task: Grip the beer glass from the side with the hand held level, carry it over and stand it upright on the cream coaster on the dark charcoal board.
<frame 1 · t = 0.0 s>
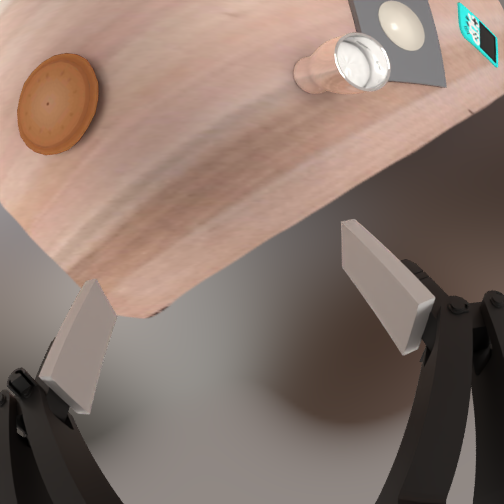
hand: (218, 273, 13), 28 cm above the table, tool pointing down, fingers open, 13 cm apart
pie: (64, 103, 29), on the table
beer glass: (312, 75, 33), on the table
serving board: (397, 26, 28), on the table
handheld game console: (477, 35, 27), on the table
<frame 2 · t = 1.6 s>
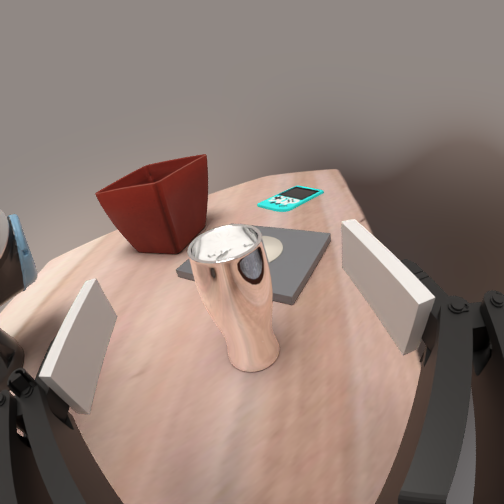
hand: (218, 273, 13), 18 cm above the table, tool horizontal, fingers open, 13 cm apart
beer glass: (254, 352, 31), on the table
plant pot: (171, 240, 62), on the table
serving board: (255, 258, 48), on the table
handheld game console: (291, 201, 71), on the table
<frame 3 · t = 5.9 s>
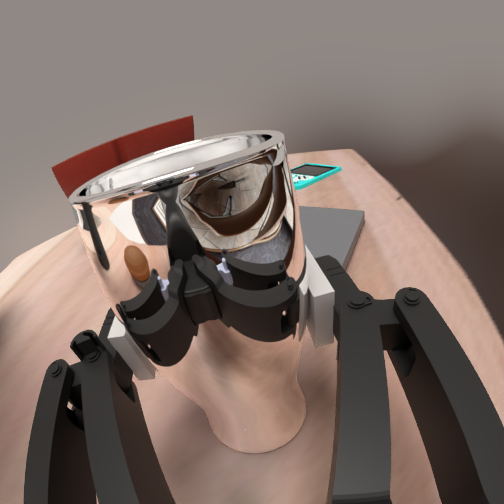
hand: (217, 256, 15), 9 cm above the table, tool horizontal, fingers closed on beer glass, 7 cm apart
beer glass: (257, 412, 15), on the table, touching gripper
plant pot: (147, 227, 46), on the table
serving board: (258, 246, 33), on the table
handheld game console: (302, 179, 55), on the table
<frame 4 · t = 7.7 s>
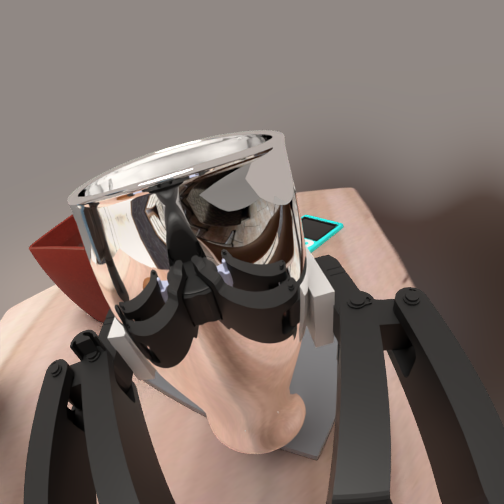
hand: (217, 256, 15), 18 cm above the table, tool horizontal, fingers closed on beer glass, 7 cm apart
beer glass: (257, 413, 15), point 9 cm above the table, touching gripper
plant pot: (138, 303, 43), on the table
serving board: (255, 358, 30), on the table
handheld game console: (301, 240, 52), on the table
when the fingers open (12 cm above the table, at t = 9.9 s): beer glass drops 1 cm, resting on serving board.
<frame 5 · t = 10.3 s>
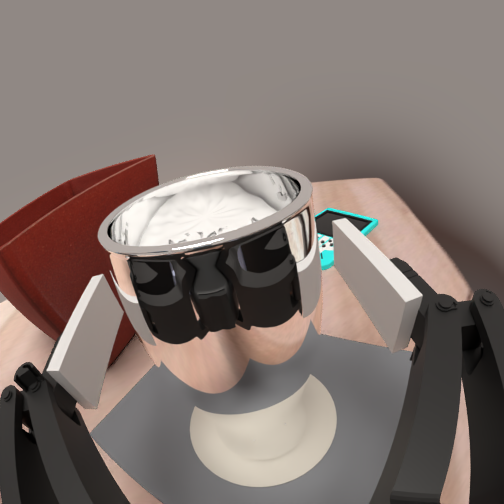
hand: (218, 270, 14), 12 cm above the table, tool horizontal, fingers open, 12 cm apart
beer glass: (262, 421, 16), point 2 cm above the table, touching serving board
plant pot: (106, 322, 30), on the table
serving board: (264, 429, 17), on the table
handheld game console: (325, 240, 39), on the table
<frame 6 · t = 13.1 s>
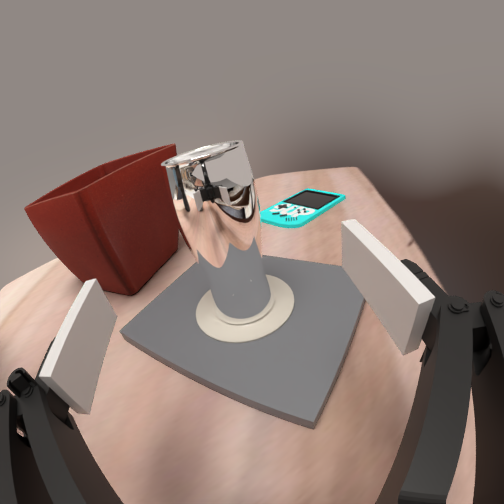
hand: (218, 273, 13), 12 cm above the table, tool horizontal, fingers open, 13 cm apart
beer glass: (244, 304, 27), point 2 cm above the table, touching serving board
plant pot: (131, 270, 42), on the table
serving board: (247, 316, 28), on the table
handheld game console: (302, 211, 50), on the table
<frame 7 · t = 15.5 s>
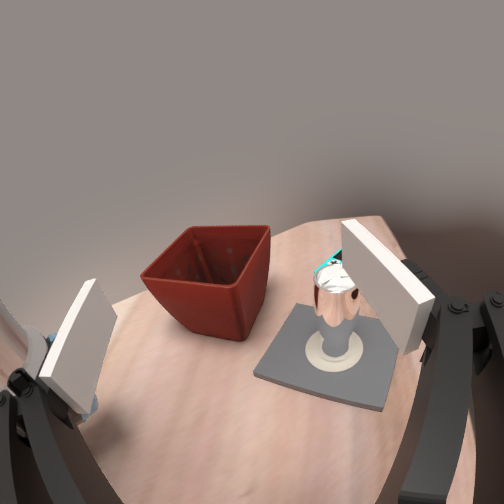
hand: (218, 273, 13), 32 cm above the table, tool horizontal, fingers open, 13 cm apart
beer glass: (335, 348, 43), point 2 cm above the table, touching serving board
plant pot: (227, 317, 58), on the table
serving board: (334, 353, 44), on the table
handheld game console: (347, 265, 66), on the table
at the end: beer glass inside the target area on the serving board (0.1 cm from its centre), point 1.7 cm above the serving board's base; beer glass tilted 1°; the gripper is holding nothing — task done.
